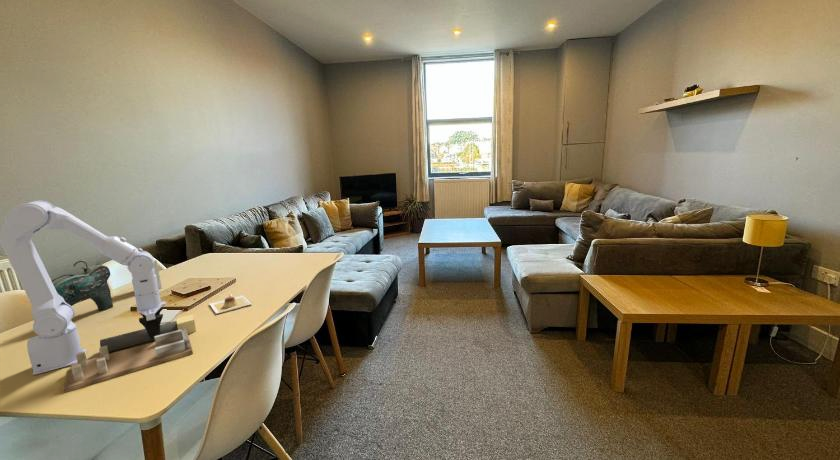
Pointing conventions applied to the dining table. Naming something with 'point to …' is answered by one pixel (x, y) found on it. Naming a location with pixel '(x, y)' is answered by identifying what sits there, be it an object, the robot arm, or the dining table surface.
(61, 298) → the robot arm
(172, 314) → the smartphone
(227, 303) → the dessert
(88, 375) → the board
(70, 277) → the dark green irregular piece
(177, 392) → the dining table surface
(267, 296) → the dining table surface
